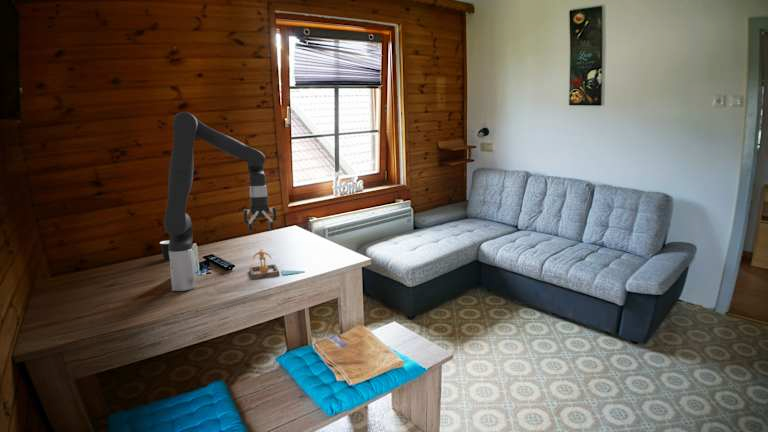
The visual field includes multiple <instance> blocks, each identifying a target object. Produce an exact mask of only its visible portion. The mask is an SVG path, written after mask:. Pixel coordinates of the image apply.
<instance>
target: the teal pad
mask: <svg viewBox="0 0 768 432" xmlns="http://www.w3.org/2000/svg"><path fill="white" fill-rule="evenodd" d="M280 273H281V275H282V276H283V277H285V276H292V275H299V274H303V273H305V270H285V269H283V270H282V269H281V270H280Z"/></svg>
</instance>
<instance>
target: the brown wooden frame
mask: <svg viewBox="0 0 768 432" xmlns="http://www.w3.org/2000/svg"><path fill="white" fill-rule="evenodd" d="M265 265H266V266H267V267H268V269H273V270H274V271H268V272H266V273H261V272H259V273H254V272H256V271H260V270H259V269H260V267H261V265H258V266H257V265H256V266H249V267H248V268H249V273H250V274H249V275H250V277H251V280H255V279H256V280H257V279H265V278H271V277H279V276H280V270H279V269H278V267H277V264H265Z"/></svg>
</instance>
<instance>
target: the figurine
mask: <svg viewBox="0 0 768 432" xmlns="http://www.w3.org/2000/svg"><path fill="white" fill-rule="evenodd" d="M257 255H259V258H258V259H259V261H260V262H259V263H260V266H261V267H260V269H259V270H258V271H259V273H266V272H269V268H268V267H267V266H266V265H267V264H266V259H267V258H266V256H264V255H267V256H268V257H269V258H270V259H271V260H272V256H271V255H270V254H269V253H267V252H265V251H264V250H263V249H262V248H261V249H260V251H258V252H256V253H255V254H254V255H253V260H255V259H256V256H257Z"/></svg>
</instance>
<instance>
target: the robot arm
mask: <svg viewBox="0 0 768 432" xmlns="http://www.w3.org/2000/svg"><path fill="white" fill-rule="evenodd" d="M172 127H173V147H172V152H171V157H170V162H169V168H168V182H167V183H168V185H167V186H168V187H167V203H166V210H165V214H164V219H163V228H164V230H165V232H166V233H167V234H169V240H170V241H169V244H168V249H169V257H170V261H169V266H170V269H169V273H170V281H171V282H170V283H171V291H172V292H184V291H189V290H192V289H195V288H196V274H195V264H194V253H193V239H194V238H193V225H192V224H193V223H192V219H191V217H190V216H189V214H188V213H186V211H187V210H186V209H187V201H188V200H189V199H188V198H189V196H190V192H191V189H192V187H193V186H192V185H193V179H194V170H195V169H194V164H195V162H194V161H195V160H194V142H195V139H199V140H201V141H203V142H206V143H207V144H209V145H211V146H213V147H215V148H216V149H217V150H220V151H222V152H224V153H226V154H228V155H229V156H232V157H234V158H237V159H240V160H241V161H243V162H245V163H247V168H248V173H249V178H248V179H249V201H250V209H246V208H243V222H244V223H245V224H248V231H250V233H252V232H253V221H254V220H255V219H264V218H266V219H268V220H269V222H268V223H269V224H268V225H269V231H272V230H273V229H274V222H275V221H277V220H278V218H277V211H276V207H274V206H272V207H269V202H268V200H269V199H268V189H267V181H266V174H265V172H264V171H265V170H264V164H265V162H266V156H265V154H264V153H263V152H261V151H260V150H258V149H256V148H254V147H252V146H248V145H246V144H244V143H243V142H241V141H239V140H237V139H235V138H234V137H232V136H230V135H227V134H224V133H223V132H220V131H217V130H215V129H213V128H211V127H209V126H208V125H206V124H204V123H203V122H202V121H200V120H198V118H196V116H195V115H193V114H192V113H191V112H188V111H181V112H178V113H177V114H176V115H175V116H174V117H173V119H172ZM269 212H271V213H272V218H271V217H270V215H268V214H269ZM249 213H250V214H252V215H251V216H250V218H249V220H248V215H249Z"/></svg>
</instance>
